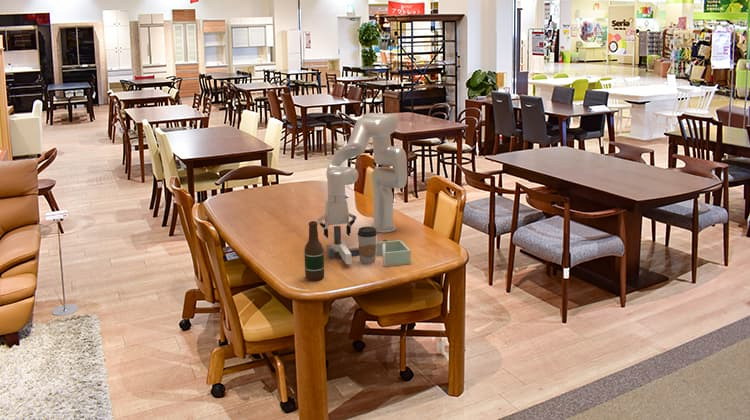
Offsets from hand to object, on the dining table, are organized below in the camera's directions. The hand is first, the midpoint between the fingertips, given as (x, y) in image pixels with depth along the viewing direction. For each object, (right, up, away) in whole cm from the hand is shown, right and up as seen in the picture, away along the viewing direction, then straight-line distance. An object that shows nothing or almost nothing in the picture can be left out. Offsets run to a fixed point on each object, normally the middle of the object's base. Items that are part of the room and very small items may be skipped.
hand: (337, 235), depth 308 cm
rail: (+9, -9, +5) cm, 14 cm away
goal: (+24, -10, -1) cm, 26 cm away
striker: (+3, -9, -3) cm, 10 cm away
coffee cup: (+13, -11, -4) cm, 18 cm away
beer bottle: (-8, -17, -21) cm, 28 cm away
